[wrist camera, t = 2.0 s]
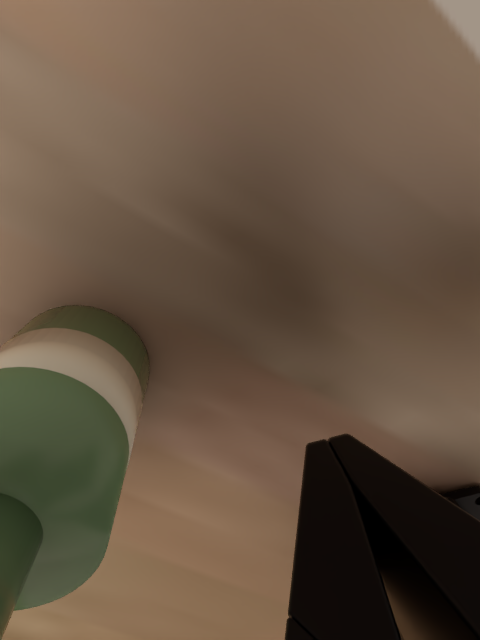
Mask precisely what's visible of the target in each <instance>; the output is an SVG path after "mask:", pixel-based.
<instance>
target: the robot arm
mask: <svg viewBox="0 0 480 640" xmlns="http://www.w3.org/2000/svg"><path fill="white" fill-rule="evenodd" d="M288 616H289V618H288V619H287V624H286V633H285V640H480V486H474V487H470V488H466V489H462V490H458V491H454V492H451V493H447V494H443V495H440V494H438V493H437V492H435V491H434V490H432V489H431V488H429V487H428V486H426V485H425V484H423V483H422V482H420V481H419V480H417V479H416V478H414V477H413V476H411V475H410V474H408V473H407V472H405V471H404V470H402V469H401V468H399V467H398V466H396V465H395V464H393V463H392V462H390V461H389V460H387V459H386V458H384V457H383V456H381V455H380V454H378V453H377V452H375V451H374V450H372V449H371V448H369V447H368V446H366V445H365V444H363V443H362V442H360V441H359V440H357V439H356V438H354V437H353V436H351V435H349V434H342V435H338V436H334V437H331V438H329V439H328V441H327V440H325V439H323V440H319V441H315V442H311V443H308V444H307V445H306V451H305V460H304V469H303V478H302V488H301V497H300V506H299V516H298V525H297V534H296V543H295V553H294V562H293V571H292V581H291V590H290V599H289V608H288Z"/></svg>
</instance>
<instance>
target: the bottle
mask: <svg viewBox="0 0 480 640" xmlns="http://www.w3.org/2000/svg"><path fill="white" fill-rule="evenodd" d="M148 378H149V358H148V355H147V351H146V349H145V347H144V344H143V343H142V341H141V339H140V338H139V336H138V335H137V334H136V333H135V331H134V330H133V329H132V328H131V327H130V326H129V325H128V324H127V323H125V322H124V321H122V320H121V319H120V318H118V317H116V316H115V315H113V314H111V313H108V312H106V311H104V310H101V309H97V308H94V307H88V306H79V305H72V306H63V307H57V308H54V309H51V310H48V311H46V312H44V313H42V314H40V315H38V316H37V317H35V318H34V319H33V320H31V321H30V322H29V323H28V324H27V325H26V326H25V327H24V328H23V329H21V330H20V331H19V332H18V333H17V334H16V335H15V336H14V337H13V338H11V339H10V340H9V341H8V342H6V343H5V344H4V345H2V346H1V347H0V640H1V639H2V637H3V634H4V632H5V630H6V627H7V625H8V623H9V620H10V618H11V615H12V613H13V611H15V610H23V609H28V608H32V607H37V606H40V605H43V604H47V603H50V602H52V601H54V600H57V599H59V598H62V597H63V596H65V595H67V594H69V593H71V592H72V591H74V590H75V589H77V588H78V587H79V586H81V585H82V584H83V583H84V582H85V581H87V580H88V579H89V578H90V577H91V576H92V574H93V573H94V572H95V571H96V569H97V568H98V567H99V565H100V563H101V561H102V559H103V558H104V555H105V552H106V549H107V546H108V542H109V538H110V534H111V530H112V526H113V522H114V517H115V513H116V509H117V505H118V501H119V497H120V493H121V489H122V485H123V481H124V477H125V473H126V470H127V467H128V464H129V459H130V455H131V451H132V447H133V443H134V439H135V435H136V431H137V426H138V422H139V418H140V414H141V409H142V403H143V399H144V395H145V391H146V387H147V383H148Z"/></svg>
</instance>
